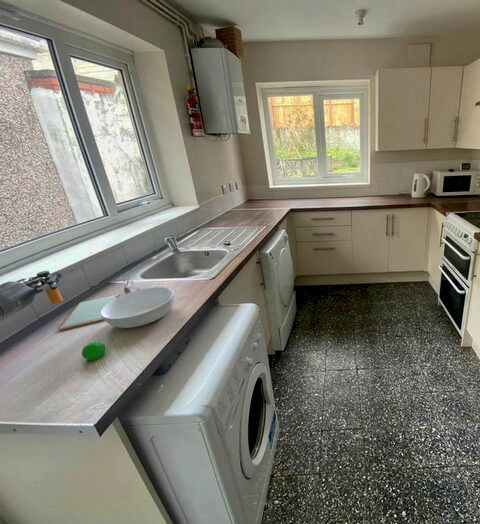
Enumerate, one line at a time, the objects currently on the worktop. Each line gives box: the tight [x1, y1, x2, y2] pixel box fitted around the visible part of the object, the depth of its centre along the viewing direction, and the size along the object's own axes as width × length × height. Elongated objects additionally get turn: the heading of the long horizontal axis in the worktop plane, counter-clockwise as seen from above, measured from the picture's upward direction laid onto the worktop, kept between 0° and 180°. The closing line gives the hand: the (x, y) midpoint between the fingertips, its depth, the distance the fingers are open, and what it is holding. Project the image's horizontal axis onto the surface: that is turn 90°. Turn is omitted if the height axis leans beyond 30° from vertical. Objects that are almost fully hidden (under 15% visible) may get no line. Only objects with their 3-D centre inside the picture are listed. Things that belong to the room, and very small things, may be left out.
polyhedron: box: [81, 341, 106, 361], centre depth 80 cm, size 5×5×5 cm
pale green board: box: [59, 294, 119, 331], centre depth 105 cm, size 12×20×1 cm, turn 27°
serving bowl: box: [100, 286, 175, 329], centre depth 99 cm, size 21×21×7 cm
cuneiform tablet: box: [122, 278, 137, 295], centre depth 116 cm, size 6×4×12 cm
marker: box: [36, 270, 64, 305], centre depth 87 cm, size 3×3×10 cm
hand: (52, 274), depth 88 cm, fingers closed on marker, 2 cm apart
